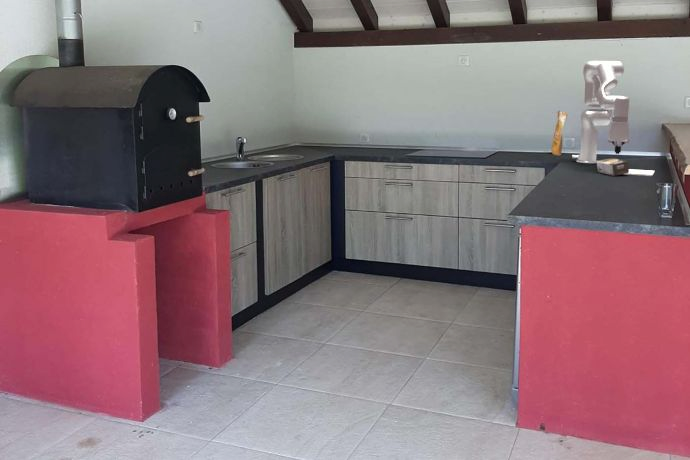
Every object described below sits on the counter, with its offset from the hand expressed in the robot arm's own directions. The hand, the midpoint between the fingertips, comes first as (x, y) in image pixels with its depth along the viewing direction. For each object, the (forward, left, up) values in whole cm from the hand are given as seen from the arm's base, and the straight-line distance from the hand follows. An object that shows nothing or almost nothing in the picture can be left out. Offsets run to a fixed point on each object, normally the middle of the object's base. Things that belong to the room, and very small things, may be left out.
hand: (617, 153), depth 399 cm
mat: (+9, 0, -10) cm, 14 cm away
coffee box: (-6, -3, -6) cm, 9 cm away
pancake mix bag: (-46, +71, -10) cm, 85 cm away
